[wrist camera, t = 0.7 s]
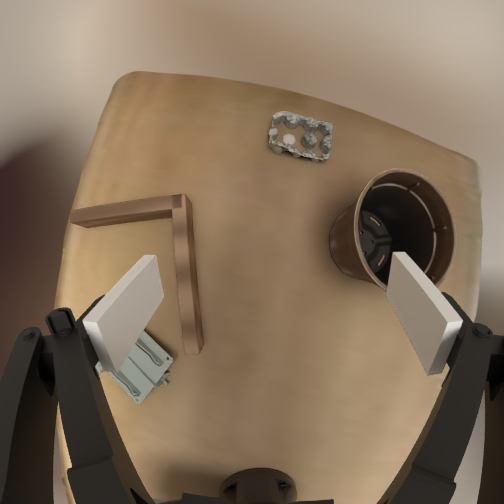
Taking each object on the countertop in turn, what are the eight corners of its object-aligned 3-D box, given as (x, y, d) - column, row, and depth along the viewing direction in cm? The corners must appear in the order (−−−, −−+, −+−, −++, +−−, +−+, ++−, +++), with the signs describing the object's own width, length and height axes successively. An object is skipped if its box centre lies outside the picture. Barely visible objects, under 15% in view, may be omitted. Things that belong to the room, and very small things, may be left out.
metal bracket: (180, 355, 40) (131, 418, 39) (194, 352, 46) (148, 410, 44) (119, 294, 44) (79, 358, 43) (137, 298, 50) (99, 357, 49)
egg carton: (264, 152, 49) (266, 143, 45) (273, 117, 49) (275, 105, 45) (324, 168, 49) (330, 159, 45) (329, 132, 49) (336, 122, 45)
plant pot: (412, 225, 49) (468, 209, 33) (380, 306, 47) (434, 318, 31) (340, 180, 49) (380, 144, 32) (301, 264, 47) (331, 260, 31)
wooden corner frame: (203, 344, 46) (198, 354, 40) (97, 346, 45) (81, 354, 39) (191, 203, 47) (185, 193, 41) (87, 216, 46) (70, 210, 40)
